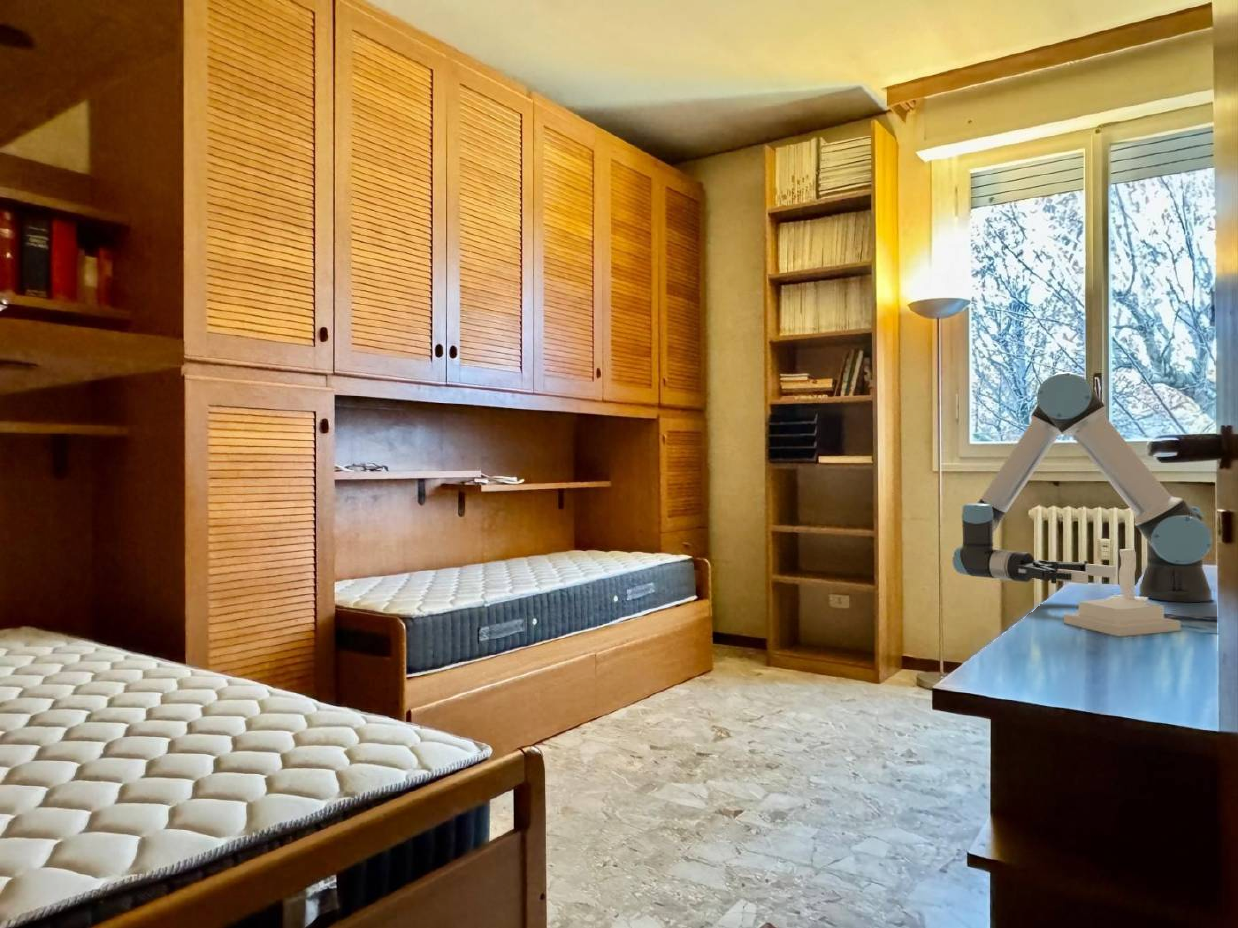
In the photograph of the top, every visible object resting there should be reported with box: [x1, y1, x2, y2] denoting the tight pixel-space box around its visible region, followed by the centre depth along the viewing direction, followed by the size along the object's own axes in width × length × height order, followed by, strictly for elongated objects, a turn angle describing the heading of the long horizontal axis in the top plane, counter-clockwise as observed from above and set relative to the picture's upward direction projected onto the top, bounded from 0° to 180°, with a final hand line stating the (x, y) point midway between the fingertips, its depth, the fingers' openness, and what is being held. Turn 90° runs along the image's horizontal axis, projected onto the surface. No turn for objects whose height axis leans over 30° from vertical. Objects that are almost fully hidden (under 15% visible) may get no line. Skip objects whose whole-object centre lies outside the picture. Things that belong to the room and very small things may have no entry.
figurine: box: [1107, 548, 1150, 602], centre depth 185 cm, size 7×9×15 cm
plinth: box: [1063, 598, 1181, 637], centre depth 172 cm, size 16×14×5 cm
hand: (1101, 574), depth 189 cm, fingers open, 13 cm apart
